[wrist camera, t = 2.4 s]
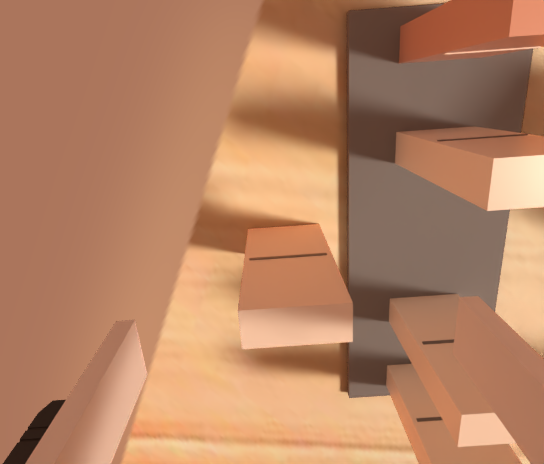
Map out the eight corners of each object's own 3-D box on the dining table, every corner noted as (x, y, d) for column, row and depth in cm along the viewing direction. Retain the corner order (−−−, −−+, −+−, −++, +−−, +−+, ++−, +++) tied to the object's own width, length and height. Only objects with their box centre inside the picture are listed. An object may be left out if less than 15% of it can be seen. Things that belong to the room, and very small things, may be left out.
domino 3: (454, 317, 29) (560, 440, 19) (388, 322, 29) (457, 447, 19) (457, 293, 28) (568, 407, 18) (389, 297, 28) (461, 414, 18)
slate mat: (479, 383, 32) (483, 388, 31) (347, 392, 32) (349, 397, 31) (533, -1, 23) (540, -4, 22) (346, 12, 23) (349, 10, 22)
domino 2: (471, 158, 25) (617, 202, 15) (395, 164, 25) (486, 212, 15) (475, 125, 24) (631, 147, 14) (396, 131, 24) (494, 157, 14)
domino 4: (447, 381, 31) (539, 525, 21) (386, 386, 31) (447, 531, 21) (450, 360, 30) (546, 497, 20) (387, 364, 30) (450, 504, 20)
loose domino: (319, 250, 28) (352, 342, 17) (250, 255, 28) (242, 350, 17) (319, 223, 27) (352, 301, 17) (248, 228, 27) (237, 309, 17)
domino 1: (482, 58, 23) (660, 27, 13) (398, 64, 23) (508, 38, 13) (486, 19, 22) (678, -48, 12) (400, 25, 22) (518, -37, 12)
